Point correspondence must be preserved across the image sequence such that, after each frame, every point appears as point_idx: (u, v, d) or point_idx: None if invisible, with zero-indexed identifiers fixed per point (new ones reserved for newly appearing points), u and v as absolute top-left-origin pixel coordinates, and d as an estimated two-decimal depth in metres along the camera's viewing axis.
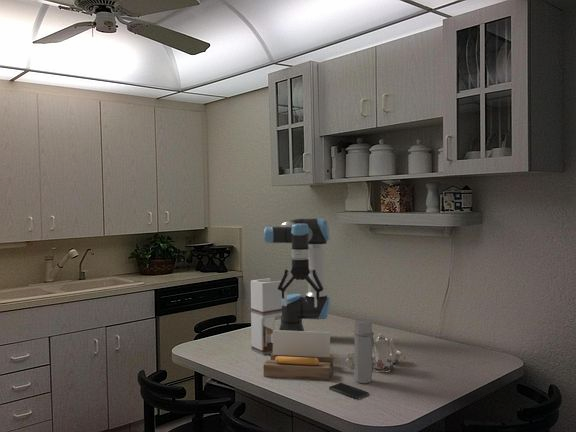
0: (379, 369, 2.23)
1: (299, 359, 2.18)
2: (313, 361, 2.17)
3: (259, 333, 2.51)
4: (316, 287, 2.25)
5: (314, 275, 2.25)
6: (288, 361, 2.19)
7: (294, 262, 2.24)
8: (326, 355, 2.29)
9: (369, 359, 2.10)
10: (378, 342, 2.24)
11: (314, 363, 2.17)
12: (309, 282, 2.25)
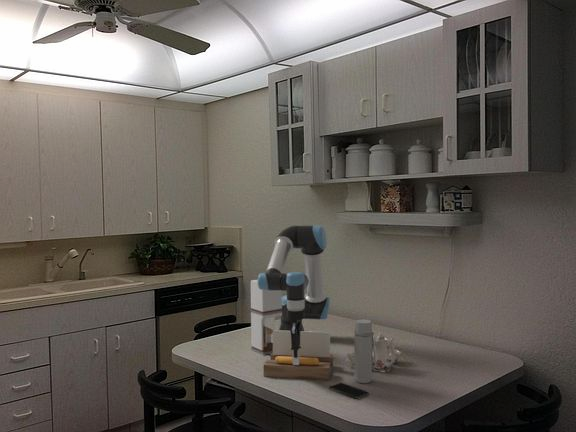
0: (379, 369, 2.23)
1: None
2: (313, 361, 2.17)
3: (259, 333, 2.51)
4: None
5: None
6: (288, 361, 2.19)
7: None
8: (326, 355, 2.29)
9: (369, 359, 2.10)
10: (378, 342, 2.24)
11: (314, 363, 2.17)
12: None
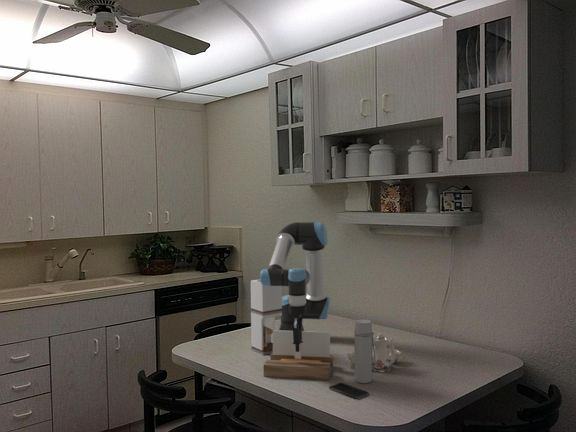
0: (379, 369, 2.23)
1: (303, 360, 2.28)
2: None
3: (259, 333, 2.51)
4: None
5: None
6: None
7: None
8: (326, 355, 2.29)
9: (369, 359, 2.10)
10: (378, 342, 2.24)
11: None
12: None
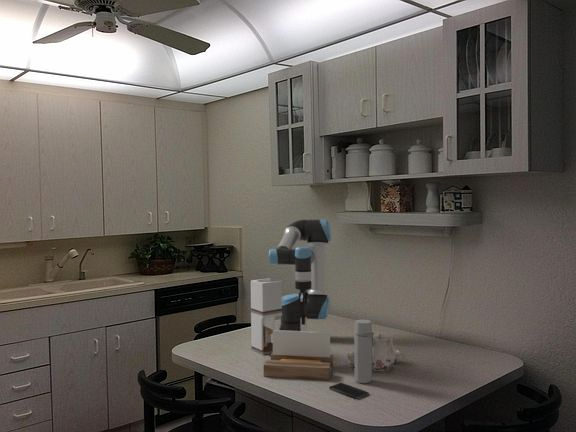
0: (378, 369, 2.23)
1: None
2: None
3: (259, 333, 2.51)
4: None
5: None
6: None
7: None
8: (326, 355, 2.29)
9: (369, 359, 2.10)
10: (377, 342, 2.25)
11: None
12: None
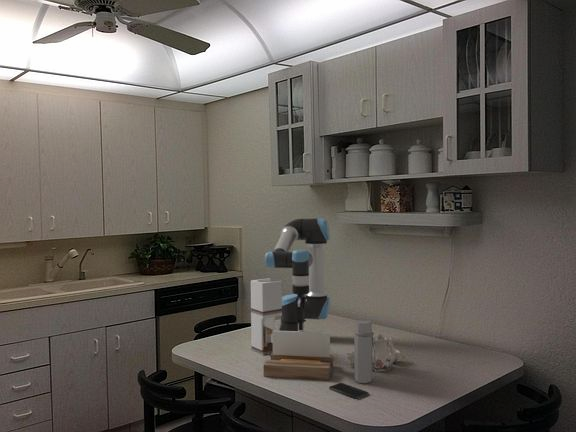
0: (378, 368, 2.23)
1: None
2: None
3: (259, 333, 2.51)
4: None
5: None
6: None
7: None
8: (326, 355, 2.28)
9: (369, 359, 2.10)
10: (377, 342, 2.25)
11: None
12: None
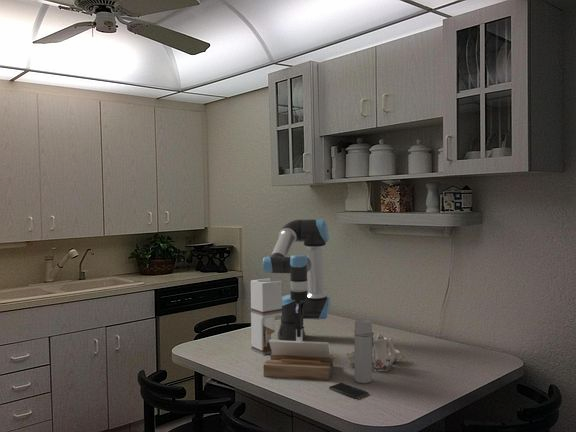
0: (378, 368, 2.23)
1: None
2: None
3: (259, 333, 2.51)
4: None
5: None
6: None
7: None
8: (326, 356, 2.28)
9: (369, 359, 2.10)
10: (377, 341, 2.25)
11: None
12: None
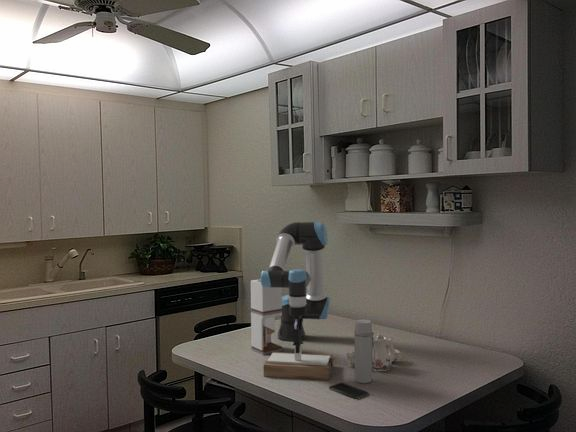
0: (378, 368, 2.24)
1: None
2: None
3: (259, 333, 2.51)
4: None
5: None
6: None
7: None
8: None
9: (369, 359, 2.10)
10: (377, 341, 2.25)
11: None
12: None
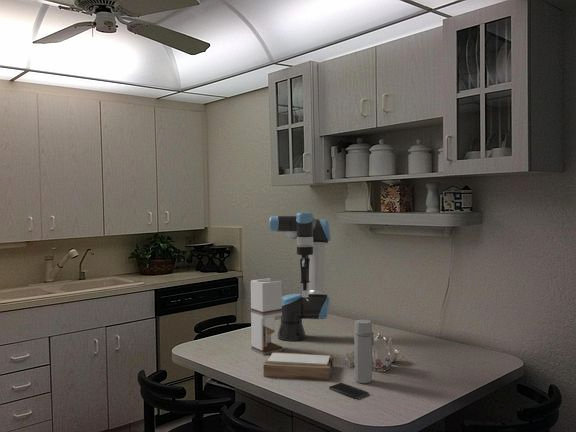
0: (378, 368, 2.24)
1: None
2: None
3: (259, 333, 2.51)
4: None
5: None
6: None
7: None
8: None
9: (369, 359, 2.10)
10: (377, 341, 2.25)
11: None
12: None
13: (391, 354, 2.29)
